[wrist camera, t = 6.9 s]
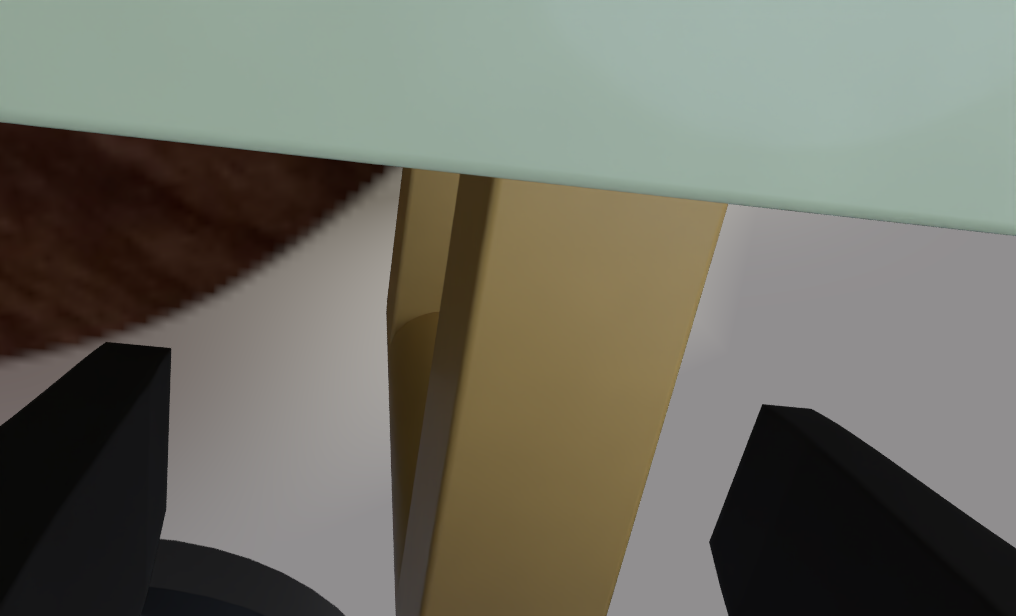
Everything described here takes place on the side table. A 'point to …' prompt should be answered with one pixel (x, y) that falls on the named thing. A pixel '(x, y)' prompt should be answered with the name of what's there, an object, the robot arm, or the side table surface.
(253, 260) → the side table surface
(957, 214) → the door
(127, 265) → the side table surface
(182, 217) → the side table surface
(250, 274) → the side table surface
